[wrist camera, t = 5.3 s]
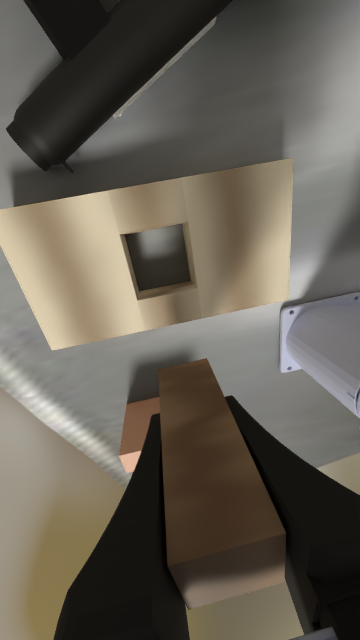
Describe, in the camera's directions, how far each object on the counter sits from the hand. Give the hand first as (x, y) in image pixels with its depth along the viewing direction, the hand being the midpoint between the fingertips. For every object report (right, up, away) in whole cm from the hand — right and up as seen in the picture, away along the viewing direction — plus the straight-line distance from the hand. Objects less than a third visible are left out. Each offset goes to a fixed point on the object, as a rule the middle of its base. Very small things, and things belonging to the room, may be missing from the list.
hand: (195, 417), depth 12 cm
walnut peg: (0, +1, +3) cm, 3 cm away
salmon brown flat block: (-4, -4, +12) cm, 13 cm away
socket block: (-3, +11, +6) cm, 13 cm away
